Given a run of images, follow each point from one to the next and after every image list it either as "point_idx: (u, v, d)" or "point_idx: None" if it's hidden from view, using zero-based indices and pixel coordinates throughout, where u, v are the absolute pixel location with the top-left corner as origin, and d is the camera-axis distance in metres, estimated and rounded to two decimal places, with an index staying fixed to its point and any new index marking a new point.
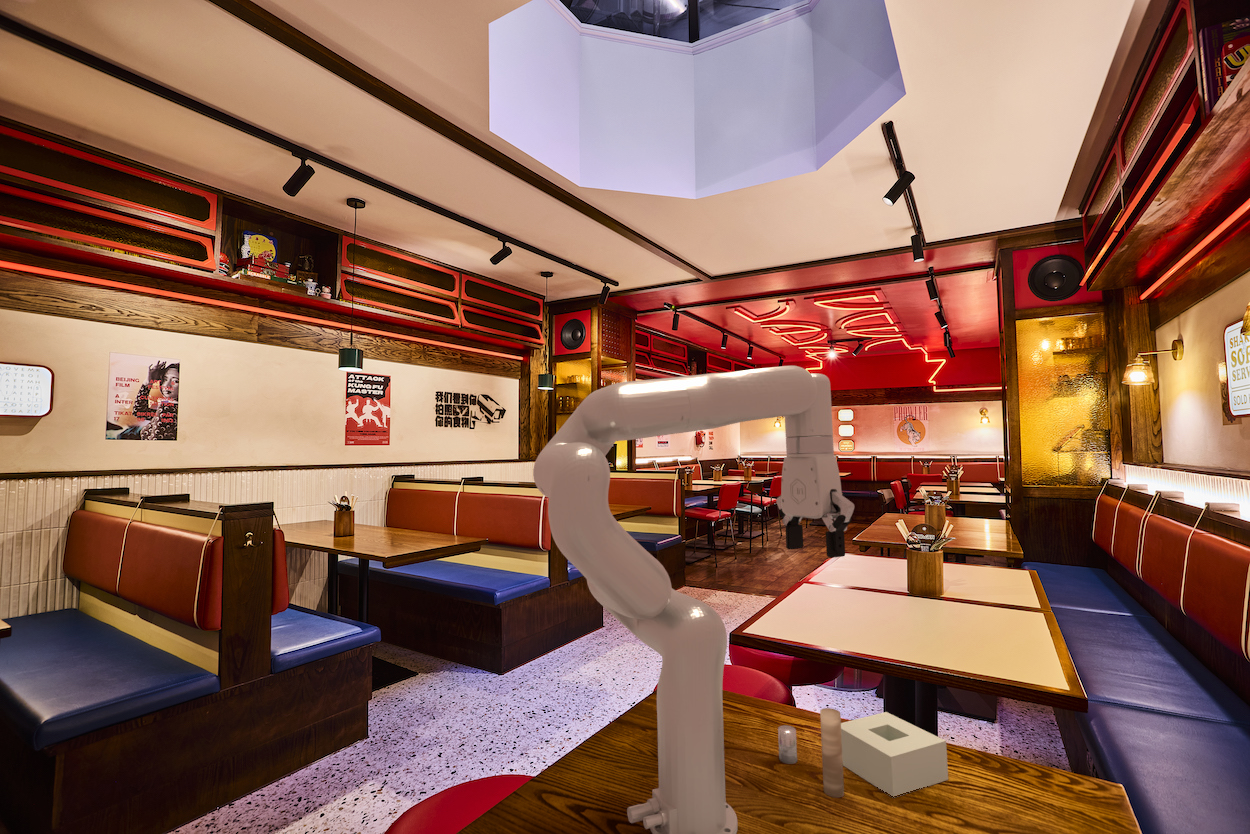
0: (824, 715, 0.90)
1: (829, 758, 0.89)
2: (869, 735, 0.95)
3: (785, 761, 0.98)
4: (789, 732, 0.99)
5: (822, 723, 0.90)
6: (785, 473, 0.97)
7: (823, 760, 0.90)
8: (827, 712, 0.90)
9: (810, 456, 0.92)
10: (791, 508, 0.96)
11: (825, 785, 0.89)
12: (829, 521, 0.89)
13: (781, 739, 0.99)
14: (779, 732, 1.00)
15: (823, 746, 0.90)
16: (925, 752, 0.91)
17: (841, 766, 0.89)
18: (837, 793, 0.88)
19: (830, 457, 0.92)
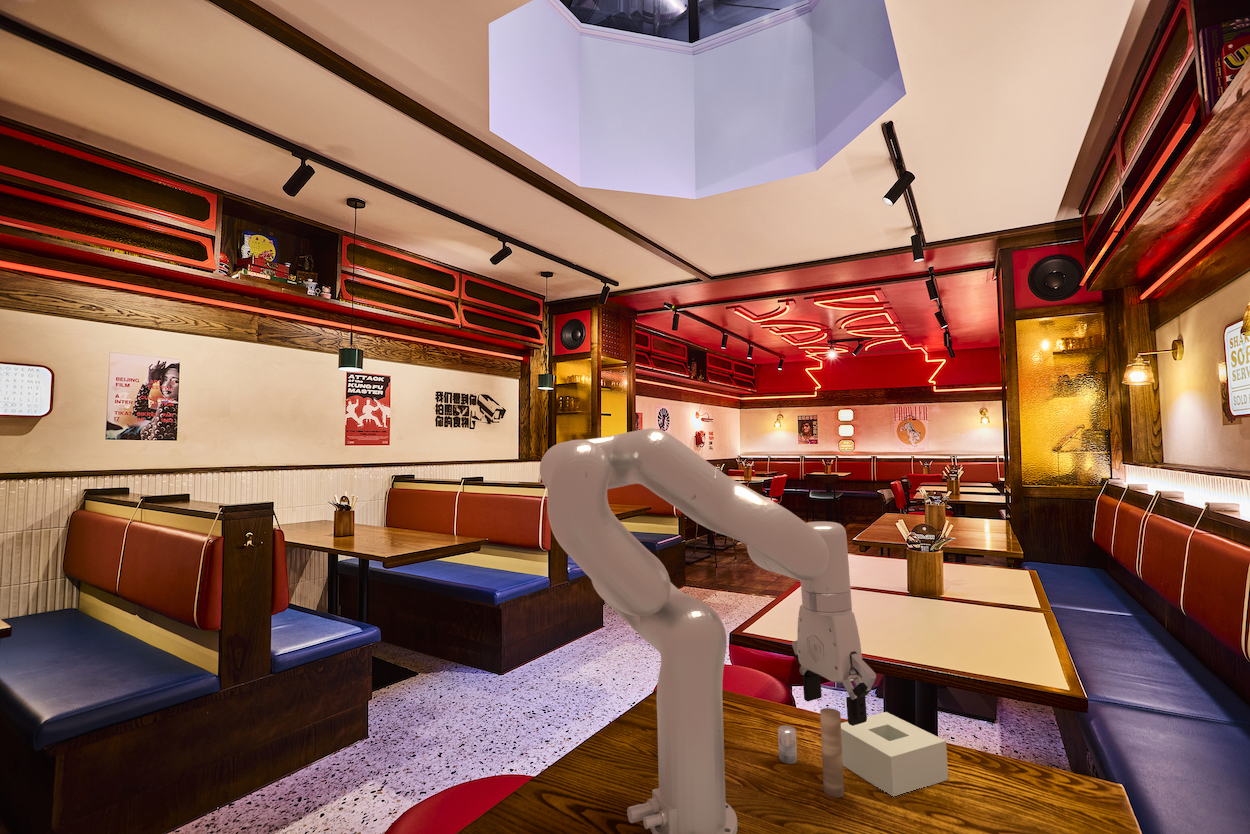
0: (824, 715, 0.90)
1: (829, 758, 0.89)
2: (869, 735, 0.95)
3: (785, 761, 0.98)
4: (789, 732, 0.99)
5: (822, 723, 0.90)
6: (801, 624, 0.94)
7: (823, 760, 0.90)
8: (827, 712, 0.90)
9: (828, 615, 0.88)
10: (808, 663, 0.92)
11: (825, 785, 0.89)
12: (850, 687, 0.86)
13: (781, 739, 0.99)
14: (779, 732, 1.00)
15: (823, 746, 0.90)
16: (925, 752, 0.91)
17: (841, 766, 0.89)
18: (837, 793, 0.88)
19: (849, 616, 0.88)
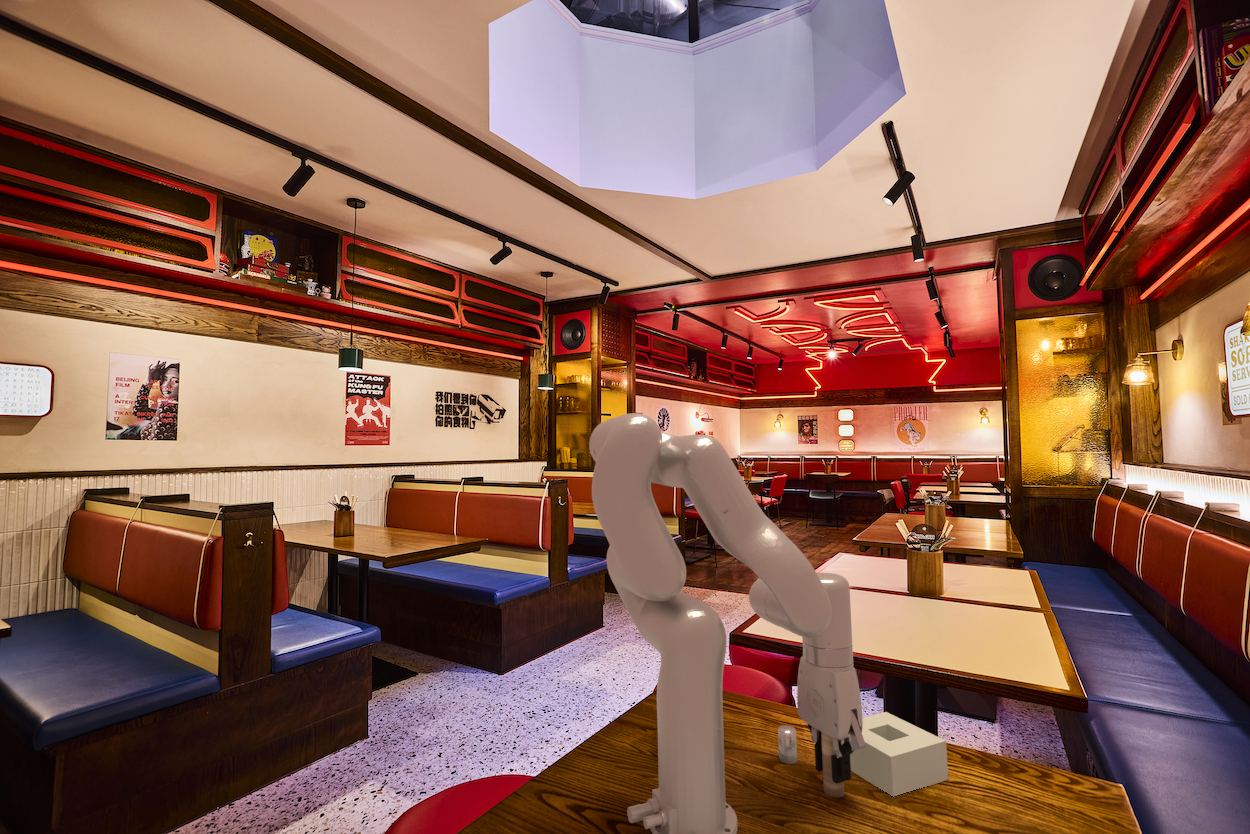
0: None
1: (829, 758, 0.89)
2: (869, 735, 0.95)
3: (785, 761, 0.98)
4: (789, 732, 0.99)
5: None
6: (801, 676, 0.93)
7: (823, 760, 0.90)
8: None
9: (829, 671, 0.88)
10: (808, 716, 0.91)
11: (825, 785, 0.89)
12: (838, 747, 0.87)
13: (781, 739, 0.99)
14: (779, 732, 1.00)
15: (823, 746, 0.90)
16: (925, 752, 0.91)
17: None
18: (837, 793, 0.88)
19: (850, 673, 0.87)
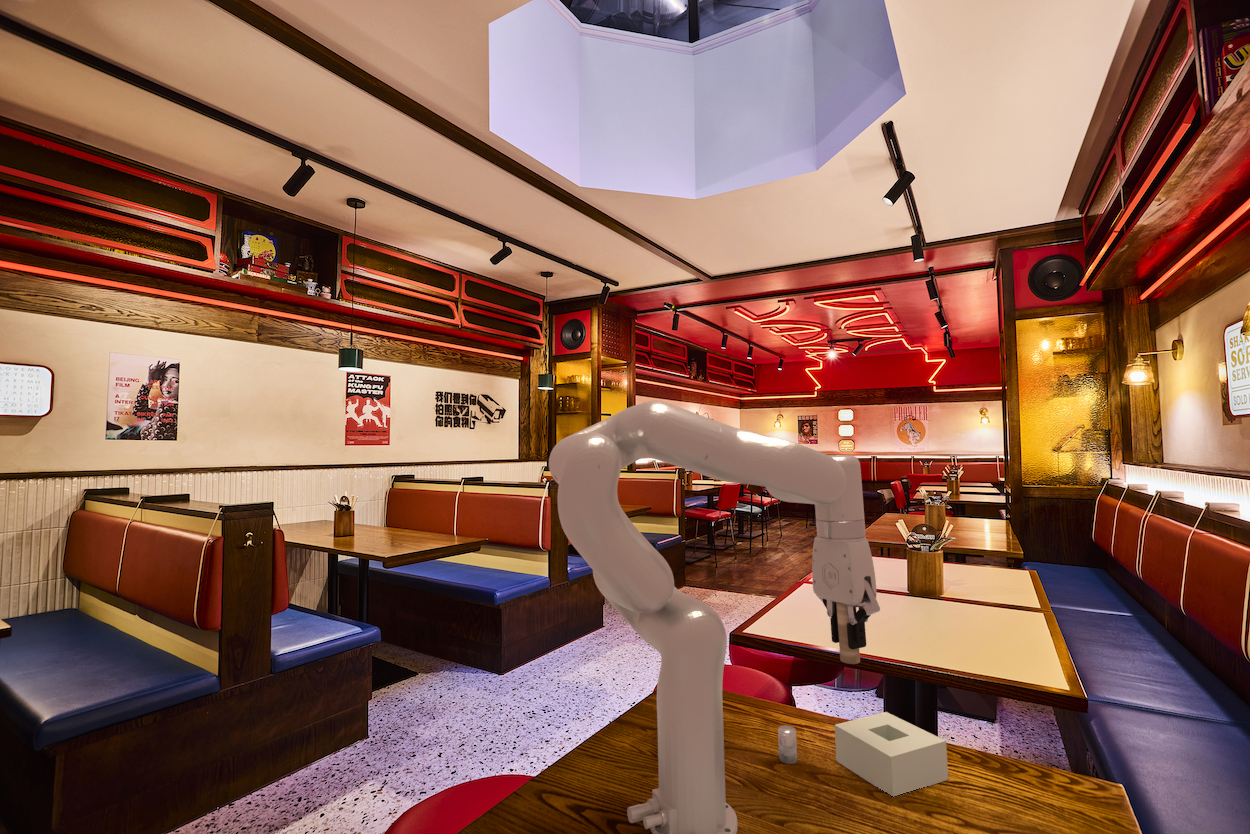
0: None
1: (845, 627, 0.92)
2: (869, 735, 0.95)
3: (785, 761, 0.98)
4: (789, 732, 0.99)
5: None
6: (816, 554, 0.96)
7: (839, 630, 0.93)
8: None
9: (842, 542, 0.91)
10: (823, 591, 0.95)
11: (842, 654, 0.93)
12: (853, 614, 0.91)
13: (781, 739, 0.99)
14: (779, 732, 1.00)
15: (839, 617, 0.93)
16: (925, 752, 0.91)
17: None
18: (853, 660, 0.92)
19: (863, 543, 0.91)
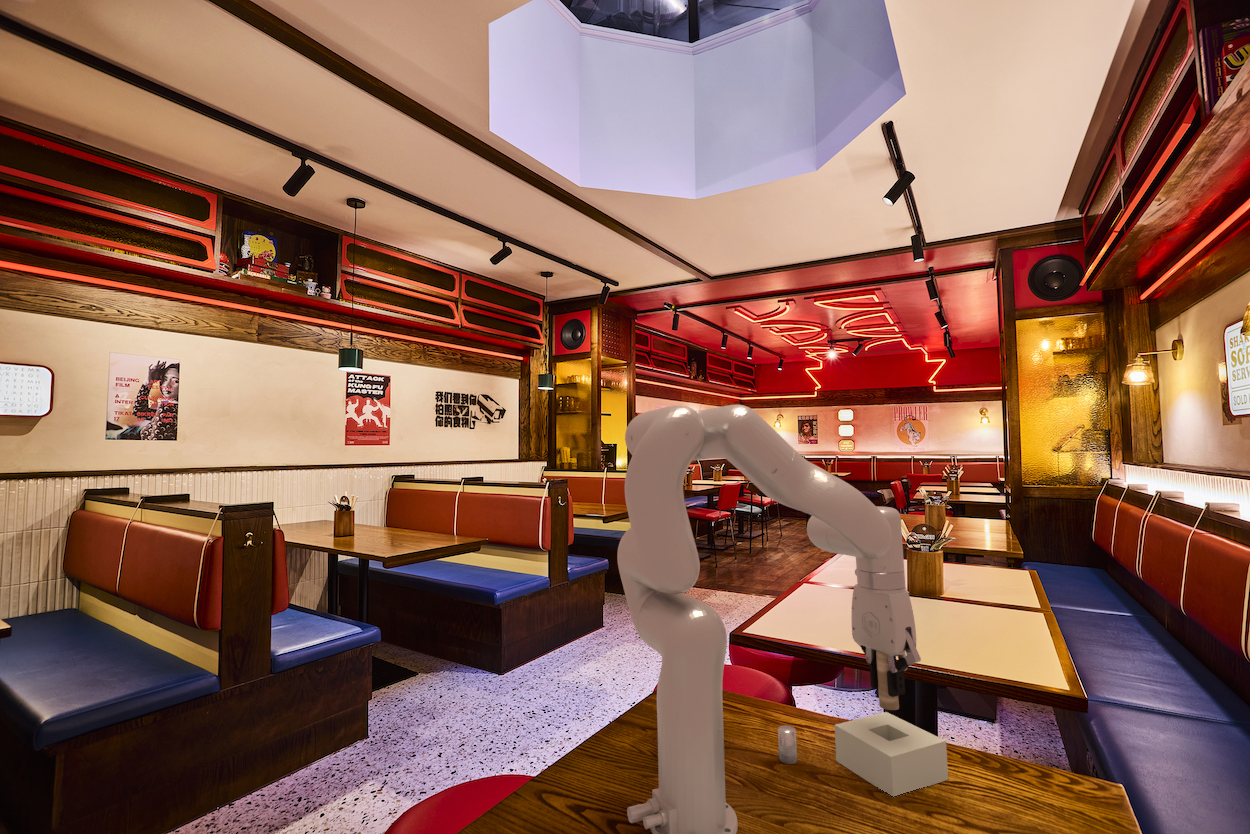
0: None
1: (885, 674, 0.96)
2: (869, 735, 0.95)
3: (785, 761, 0.98)
4: (789, 732, 0.99)
5: None
6: (855, 602, 1.00)
7: (879, 677, 0.97)
8: None
9: (884, 593, 0.94)
10: (863, 638, 0.98)
11: (881, 700, 0.96)
12: (893, 663, 0.94)
13: (781, 739, 0.99)
14: (779, 732, 1.00)
15: (878, 664, 0.97)
16: (925, 752, 0.91)
17: None
18: (893, 706, 0.95)
19: (904, 594, 0.94)
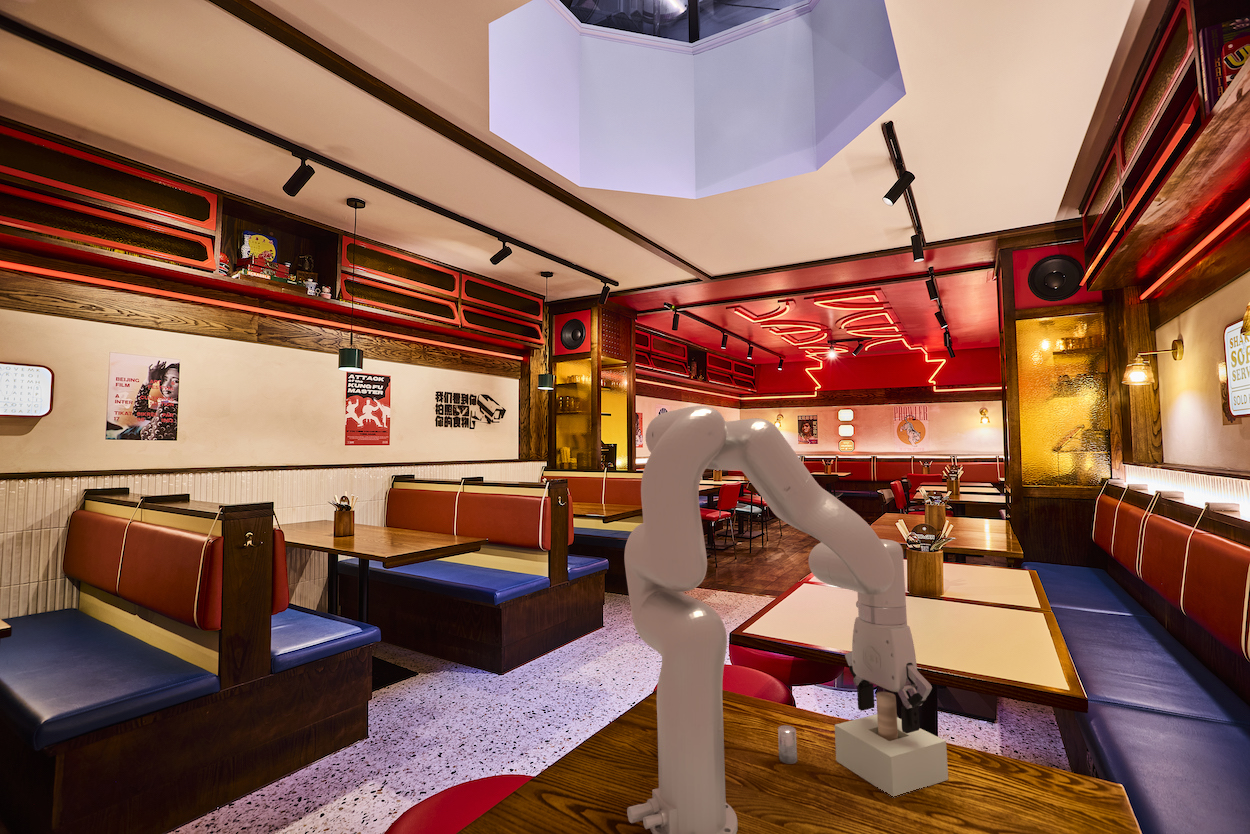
0: (881, 698, 0.96)
1: (886, 738, 0.95)
2: (869, 735, 0.95)
3: (785, 761, 0.98)
4: (789, 732, 0.99)
5: (878, 705, 0.96)
6: (856, 635, 0.99)
7: None
8: (883, 695, 0.96)
9: (885, 628, 0.94)
10: (864, 672, 0.97)
11: None
12: (905, 697, 0.92)
13: (781, 739, 0.99)
14: (779, 732, 1.00)
15: (880, 727, 0.96)
16: (925, 752, 0.91)
17: None
18: None
19: (905, 629, 0.94)
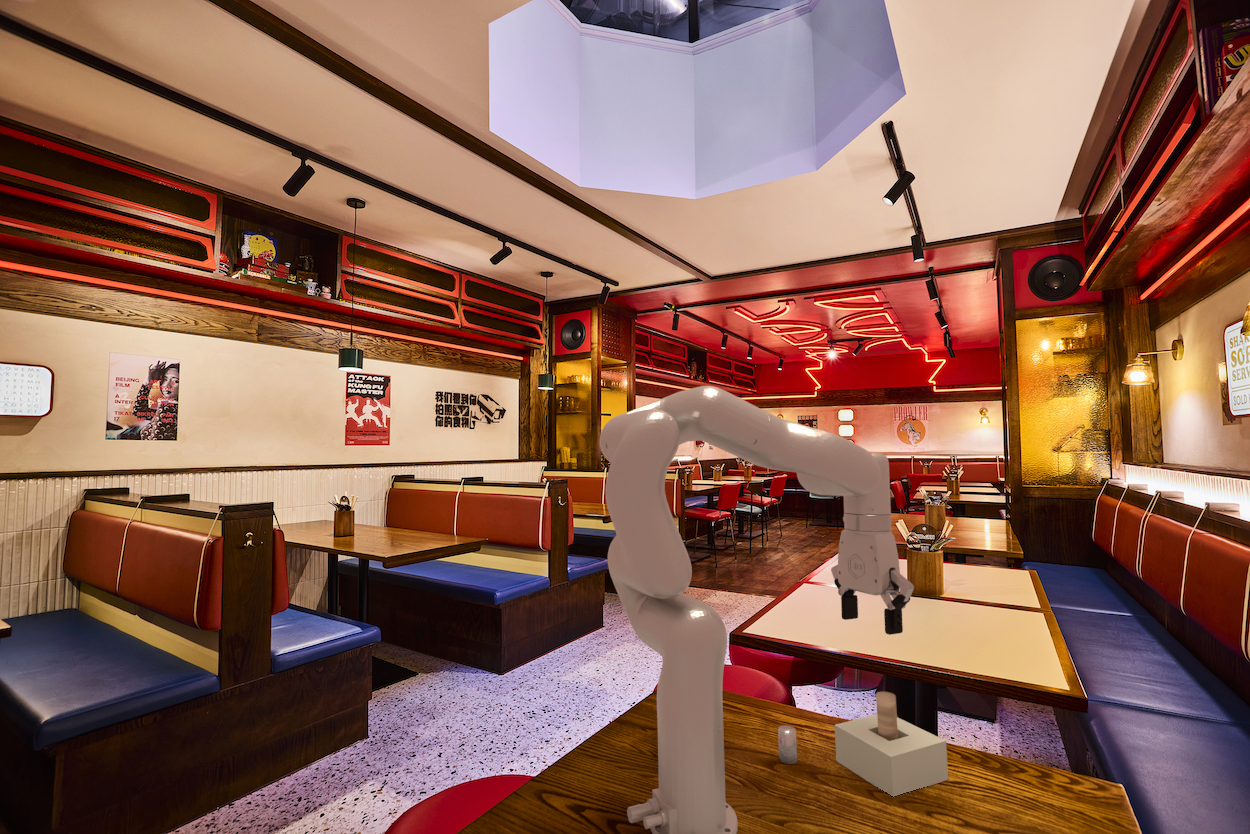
0: (881, 698, 0.96)
1: (886, 738, 0.95)
2: (869, 735, 0.95)
3: (785, 761, 0.98)
4: (789, 732, 0.99)
5: (878, 705, 0.96)
6: (842, 546, 1.01)
7: None
8: (883, 695, 0.96)
9: (869, 534, 0.96)
10: (848, 581, 0.99)
11: None
12: (888, 599, 0.93)
13: (781, 739, 0.99)
14: (779, 732, 1.00)
15: (880, 727, 0.96)
16: (925, 752, 0.91)
17: None
18: None
19: (889, 536, 0.95)
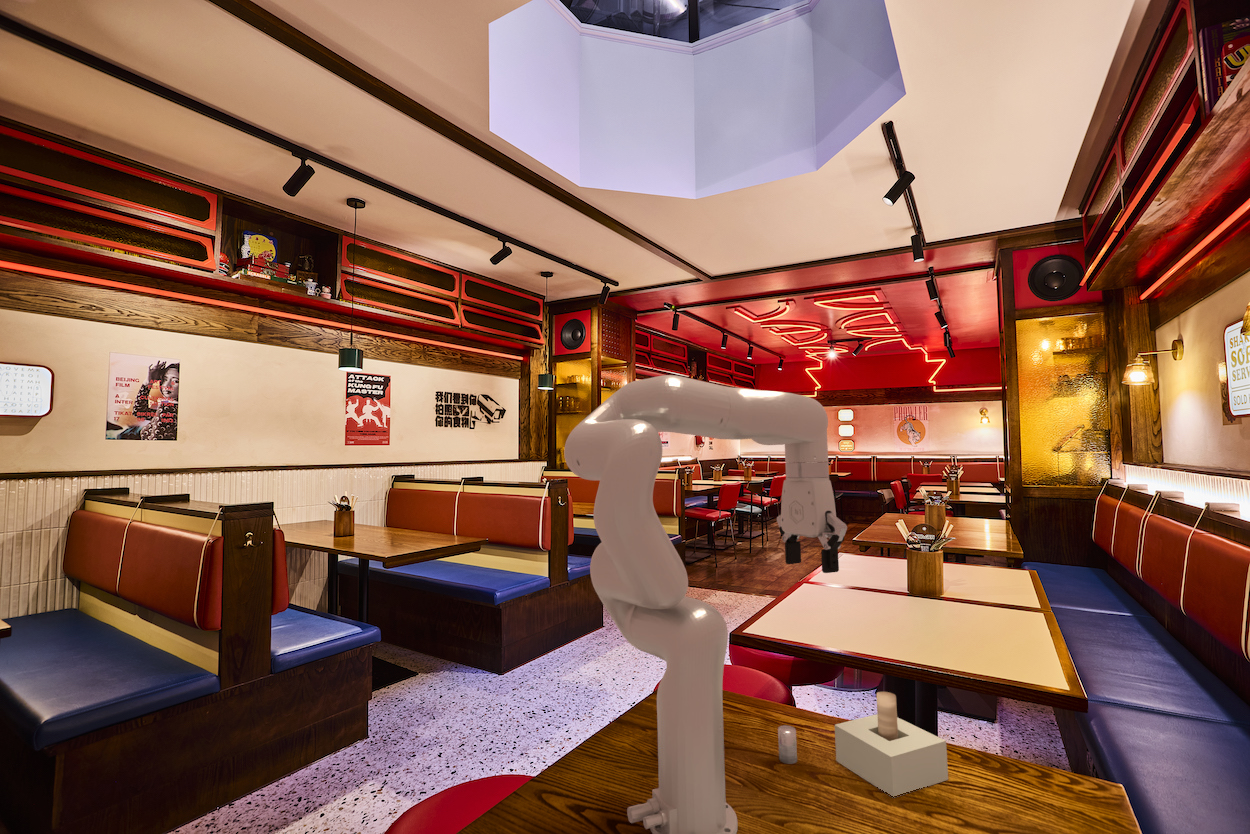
0: (881, 698, 0.96)
1: (886, 738, 0.95)
2: (869, 735, 0.95)
3: (785, 761, 0.98)
4: (789, 732, 0.99)
5: (879, 705, 0.96)
6: (784, 495, 1.07)
7: None
8: (883, 695, 0.96)
9: (807, 480, 1.01)
10: (790, 526, 1.05)
11: None
12: (824, 540, 0.99)
13: (781, 739, 0.99)
14: (779, 732, 1.00)
15: (880, 727, 0.96)
16: (925, 752, 0.91)
17: None
18: None
19: (825, 481, 1.01)
